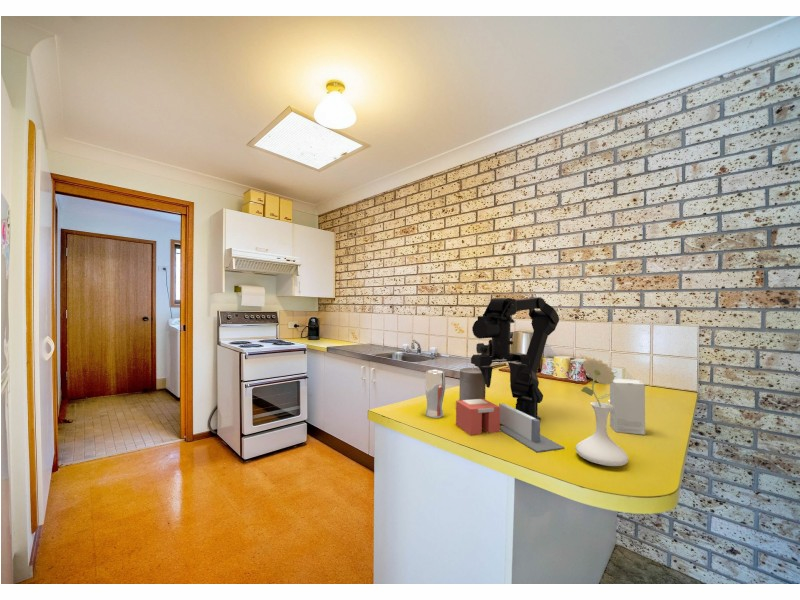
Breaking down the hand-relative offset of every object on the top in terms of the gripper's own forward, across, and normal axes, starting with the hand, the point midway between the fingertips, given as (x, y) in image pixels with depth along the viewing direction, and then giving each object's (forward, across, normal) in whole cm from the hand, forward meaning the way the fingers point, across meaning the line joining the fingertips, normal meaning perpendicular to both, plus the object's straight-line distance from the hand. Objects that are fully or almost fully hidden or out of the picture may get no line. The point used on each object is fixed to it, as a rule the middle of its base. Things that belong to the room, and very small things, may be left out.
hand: (500, 386), depth 107 cm
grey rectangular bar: (+12, -1, +7) cm, 14 cm away
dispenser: (+12, +8, 0) cm, 15 cm away
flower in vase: (+13, -9, +27) cm, 31 cm away
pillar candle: (+13, -3, -20) cm, 24 cm away
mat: (+12, -2, +11) cm, 17 cm away
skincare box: (+13, -36, +16) cm, 41 cm away
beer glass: (+13, +16, -15) cm, 25 cm away
